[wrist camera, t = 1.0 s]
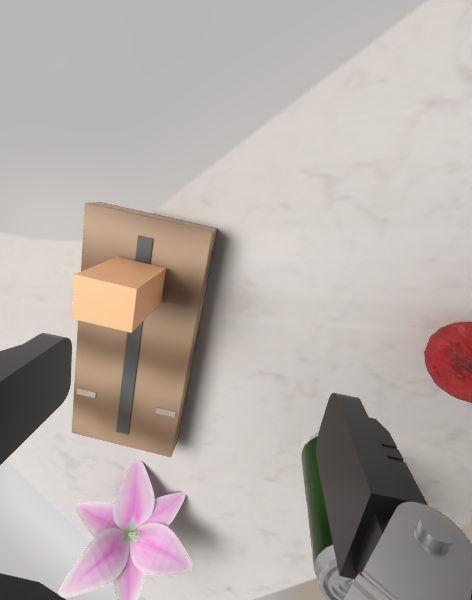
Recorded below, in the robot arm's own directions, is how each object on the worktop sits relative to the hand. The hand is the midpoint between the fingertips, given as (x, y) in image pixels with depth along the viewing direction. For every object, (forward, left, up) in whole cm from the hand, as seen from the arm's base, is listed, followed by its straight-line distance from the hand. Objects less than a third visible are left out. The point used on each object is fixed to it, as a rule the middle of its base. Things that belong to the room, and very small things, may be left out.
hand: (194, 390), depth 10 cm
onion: (+3, +18, -19) cm, 27 cm away
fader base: (+9, -8, -19) cm, 22 cm away
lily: (+28, -5, -19) cm, 35 cm away
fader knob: (+3, -8, -16) cm, 18 cm away
